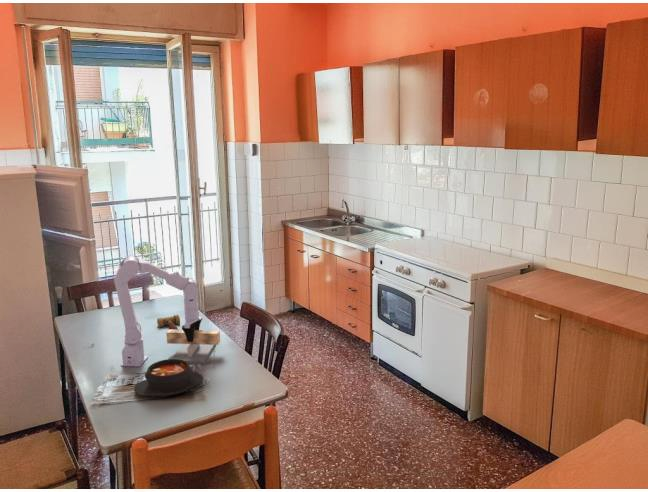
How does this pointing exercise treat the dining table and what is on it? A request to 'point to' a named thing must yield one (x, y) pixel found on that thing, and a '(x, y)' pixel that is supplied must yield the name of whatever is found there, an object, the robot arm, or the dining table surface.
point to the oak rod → (199, 337)
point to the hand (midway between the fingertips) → (193, 338)
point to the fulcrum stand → (193, 353)
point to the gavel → (169, 321)
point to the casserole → (168, 378)
